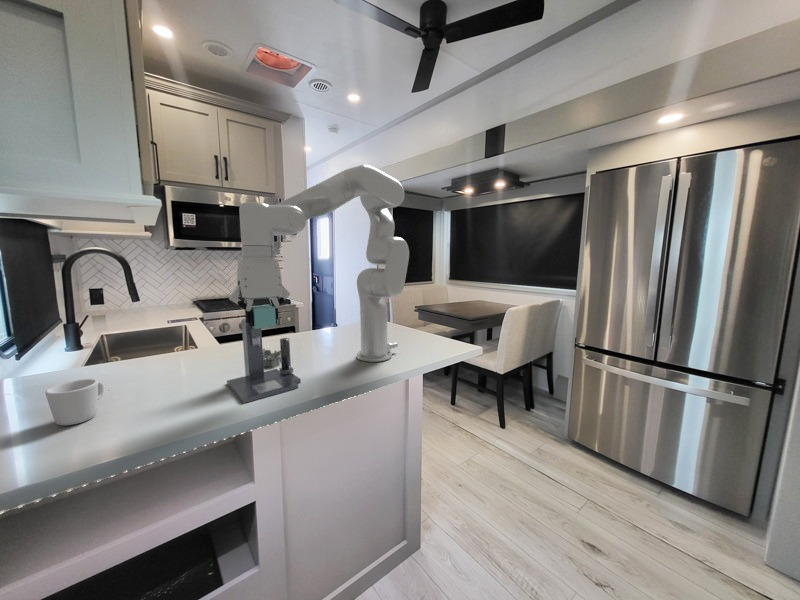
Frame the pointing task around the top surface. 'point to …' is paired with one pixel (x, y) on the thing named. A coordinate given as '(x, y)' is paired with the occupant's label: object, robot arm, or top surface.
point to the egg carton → (271, 358)
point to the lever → (285, 356)
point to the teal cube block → (264, 316)
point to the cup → (74, 401)
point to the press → (258, 371)
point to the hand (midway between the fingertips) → (262, 323)
